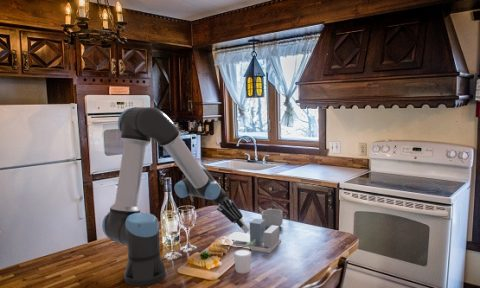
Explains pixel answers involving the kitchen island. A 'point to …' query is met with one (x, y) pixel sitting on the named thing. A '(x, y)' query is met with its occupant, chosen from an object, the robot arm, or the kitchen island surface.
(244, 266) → the white cylinder
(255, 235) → the block
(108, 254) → the kitchen island surface
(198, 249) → the kitchen island surface
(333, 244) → the kitchen island surface
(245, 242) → the board
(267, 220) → the teacup
